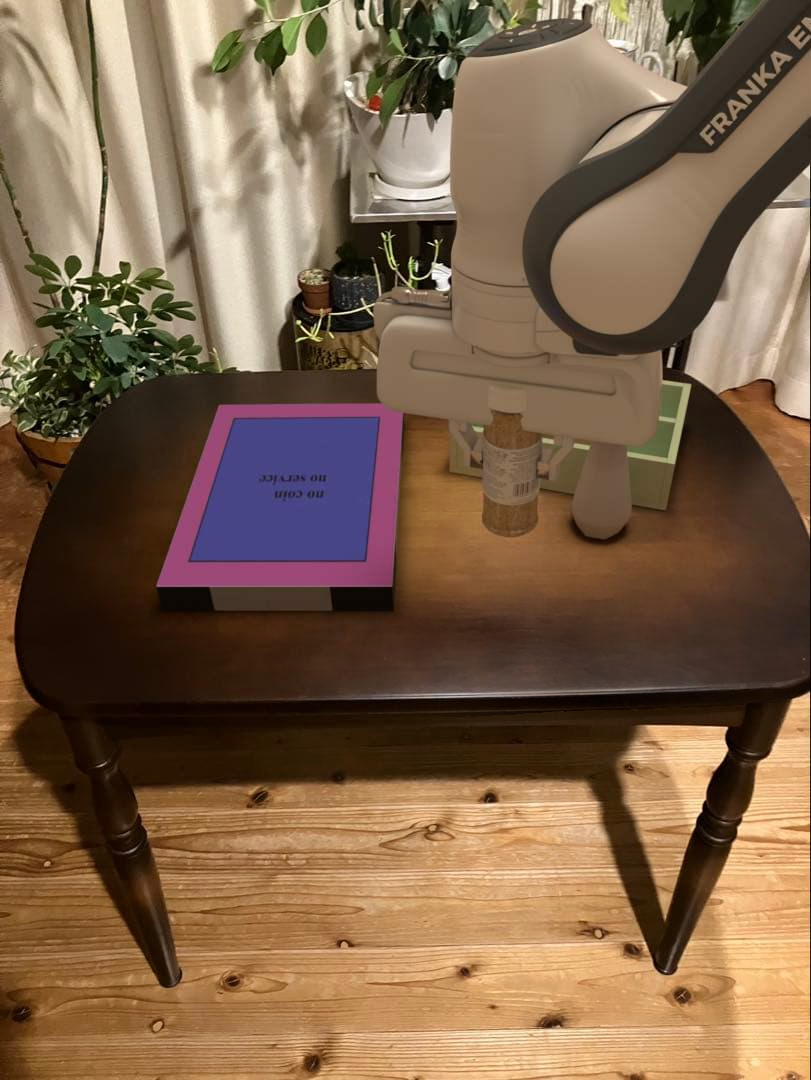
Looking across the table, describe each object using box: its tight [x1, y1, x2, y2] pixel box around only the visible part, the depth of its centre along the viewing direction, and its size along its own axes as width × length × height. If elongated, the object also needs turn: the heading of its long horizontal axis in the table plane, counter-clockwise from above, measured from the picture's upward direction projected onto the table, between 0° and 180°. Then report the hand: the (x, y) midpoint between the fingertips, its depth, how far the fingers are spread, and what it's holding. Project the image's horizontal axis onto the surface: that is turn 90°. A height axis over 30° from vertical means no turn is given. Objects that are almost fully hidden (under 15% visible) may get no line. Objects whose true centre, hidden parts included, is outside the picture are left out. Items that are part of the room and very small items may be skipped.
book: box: [156, 402, 405, 612], centre depth 93 cm, size 21×3×30 cm
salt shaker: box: [570, 441, 633, 540], centre depth 86 cm, size 6×6×13 cm
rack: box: [449, 379, 692, 511], centre depth 98 cm, size 23×15×6 cm
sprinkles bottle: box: [481, 385, 542, 538], centre depth 68 cm, size 5×5×13 cm
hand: (512, 469), depth 69 cm, fingers closed on sprinkles bottle, 4 cm apart
